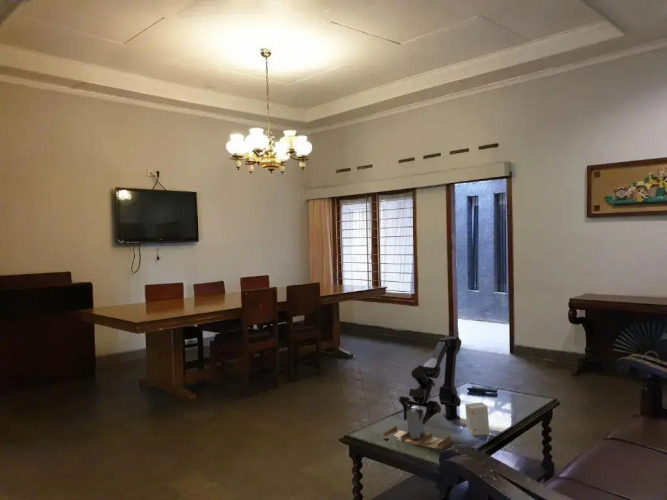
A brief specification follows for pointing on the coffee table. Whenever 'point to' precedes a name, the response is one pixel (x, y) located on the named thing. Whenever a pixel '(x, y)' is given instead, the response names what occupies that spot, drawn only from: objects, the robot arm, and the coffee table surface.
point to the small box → (477, 418)
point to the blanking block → (415, 424)
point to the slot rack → (424, 441)
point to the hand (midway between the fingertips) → (413, 422)
